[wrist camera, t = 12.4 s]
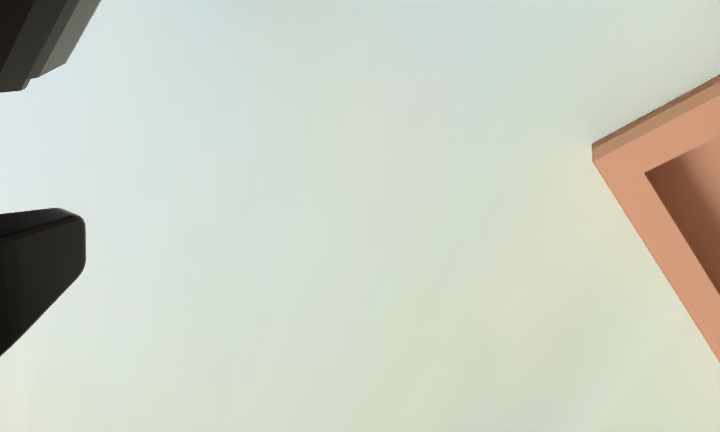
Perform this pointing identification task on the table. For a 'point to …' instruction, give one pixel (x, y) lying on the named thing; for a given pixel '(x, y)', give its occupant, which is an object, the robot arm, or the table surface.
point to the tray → (675, 195)
